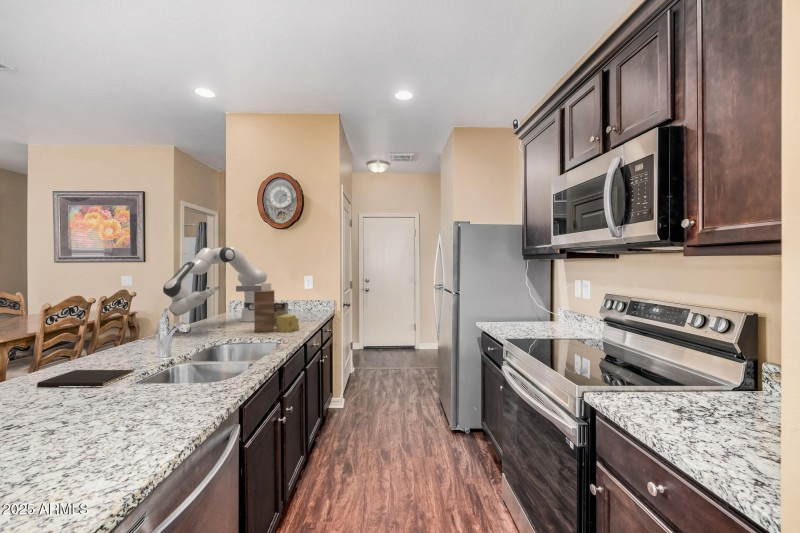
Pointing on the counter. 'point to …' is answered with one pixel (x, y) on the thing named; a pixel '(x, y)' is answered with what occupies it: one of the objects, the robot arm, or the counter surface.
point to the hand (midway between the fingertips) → (218, 287)
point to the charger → (254, 287)
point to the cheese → (287, 323)
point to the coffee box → (280, 310)
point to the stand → (263, 311)
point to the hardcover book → (84, 378)
